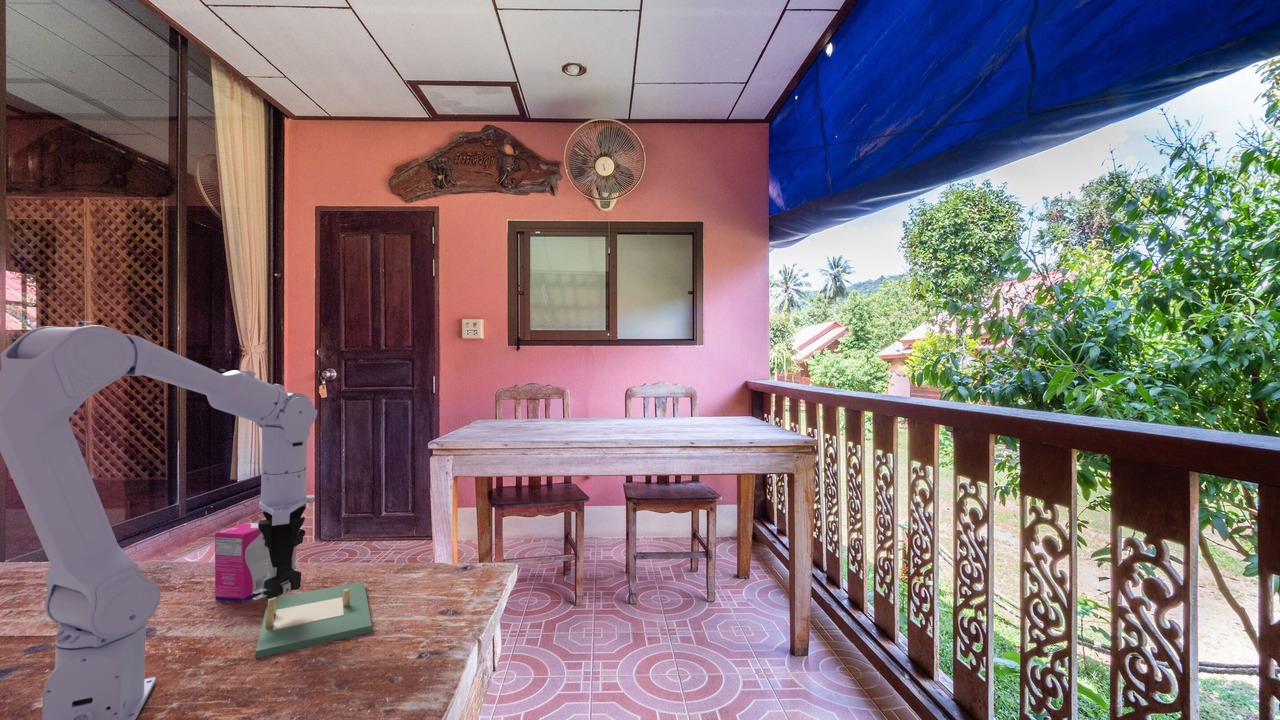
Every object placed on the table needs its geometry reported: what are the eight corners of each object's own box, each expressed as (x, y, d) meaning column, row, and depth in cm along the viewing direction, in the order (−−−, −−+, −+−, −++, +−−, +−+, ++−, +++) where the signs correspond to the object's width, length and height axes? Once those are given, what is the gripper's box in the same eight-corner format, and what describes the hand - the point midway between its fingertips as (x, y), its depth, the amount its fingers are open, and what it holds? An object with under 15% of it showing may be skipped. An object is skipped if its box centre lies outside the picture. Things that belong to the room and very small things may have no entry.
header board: (371, 632, 77) (372, 608, 77) (255, 658, 70) (256, 632, 70) (363, 587, 93) (364, 567, 93) (268, 604, 85) (268, 583, 85)
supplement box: (243, 585, 93) (245, 521, 93) (272, 588, 92) (274, 523, 92) (212, 599, 87) (214, 531, 87) (242, 602, 86) (244, 533, 86)
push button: (265, 607, 75) (271, 538, 75) (240, 599, 76) (246, 531, 76) (308, 589, 81) (314, 525, 81) (284, 582, 83) (289, 519, 83)
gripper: (314, 477, 75) (313, 570, 75) (315, 460, 87) (313, 540, 87) (254, 482, 71) (252, 580, 71) (264, 464, 84) (262, 547, 84)
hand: (282, 559), depth 79 cm, fingers closed on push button, 5 cm apart
